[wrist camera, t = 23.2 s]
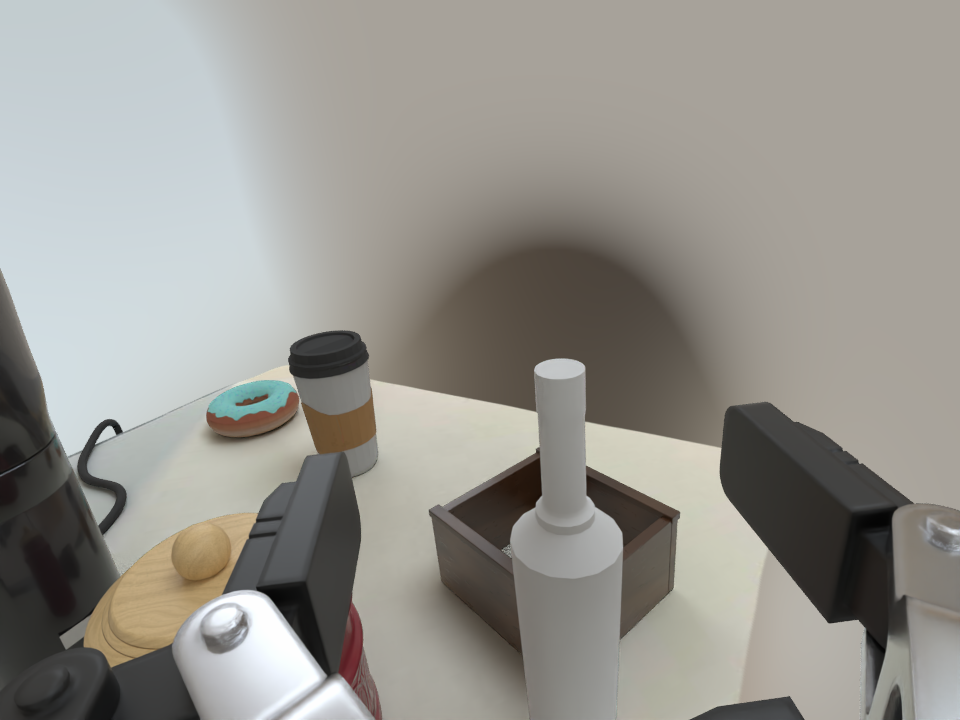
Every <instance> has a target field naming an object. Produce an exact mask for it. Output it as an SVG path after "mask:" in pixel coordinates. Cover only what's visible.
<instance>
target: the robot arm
mask: <svg viewBox="0 0 960 720" xmlns="http://www.w3.org/2000/svg"><path fill="white" fill-rule="evenodd" d="M107 426H112V427H113V429H114V431H115V433H116V435H118V434H120V433H123V431H122V429H121V427H120V425H119V424H118V423H117V422H116V421H115V420H112V419H107V420H104V421H103V422H101V423H100V424H99V425H98V426H97V427H96V428H95V430H94V431H93V433H92V435H91V436H90V438H89V440H88V442H87V444H86V445H85V447H84V449H83V451H82V453H81V455H80V457H79V460H78V465H77V469H78V473H79V476H80V477H81V479H82V480H83V481H84V482H86V483H88V484H90V485H94V486H98V487H103V488H107V489H110V490H112V491H114V492H115V493H116V495H117V500H116V502H115V505H114V506H113V508H112V510H111V511H110V513H109V514H108V515H107V516H106V518H105V519H104V520H103V521H102V522H101V523H100V524H99V525H97V522H96V520H95V518H94V516H93V513H92V511H91V509H90V507H89V504H88V502H87V500H86V498H85V495H84V493H83V491H82V488H81V486H80V484H79V482H78V479H77V477H76V475H75V473H74V470H73V468H72V467H71V464H70V462H69V460H68V458H67V456H66V453H65V451H64V449H63V446H62V444H61V442H60V440H59V437H58V435H57V433H56V431H55V428H54V426H53V423H52V421H51V419H50V417H49V414H48V410H47V404H46V399H45V394H44V388H43V383H42V380H41V377H40V374H39V372H38V369H37V366H36V364H35V361H34V359H33V356H32V353H31V351H30V348H29V346H28V343H27V340H26V337H25V335H24V332H23V329H22V326H21V323H20V321H19V318H18V315H17V312H16V309H15V306H14V303H13V300H12V297H11V295H10V292H9V289H8V287H7V284H6V282H5V279H4V277H3V274H2V272H1V270H0V720H375V718H374V717H373V716H372V714H371V713H370V712H369V710H368V709H367V708H366V706H365V705H364V704H363V702H362V701H361V700H360V699H359V697H358V696H357V695H356V693H355V692H354V691H353V689H352V688H351V687H350V685H349V684H348V683H347V682H346V680H345V679H344V678H343V677H342V676H341V675H340V674H339V673H338V671H339V666H340V660H341V654H342V648H343V642H344V636H345V631H346V625H347V619H348V613H349V607H350V601H351V595H352V590H353V584H354V578H355V572H356V566H357V560H358V554H359V549H360V542H361V524H360V515H359V510H358V505H357V500H356V496H355V491H354V486H353V482H352V477H351V472H350V468H349V463H348V459H347V456H346V454H345V452H335V453H327V454H318V455H310V456H307V457H306V458H305V460H304V463H303V465H302V468H301V471H300V473H299V476H298V478H297V481H296V482H289V483H282V484H281V485H280V486H279V487H278V488H277V489H276V490H275V491H274V492H272V493H271V494H270V495H269V496H268V497H267V498H266V499H265V500H264V502H263V504H262V506H261V509H260V511H259V513H258V515H257V518H256V523H254V524H253V526H252V529H251V531H250V533H249V539H247V540H246V542H245V544H244V546H243V549H242V551H241V553H240V555H239V558H238V560H237V562H236V564H235V566H234V569H233V571H232V573H231V575H230V577H229V580H228V582H227V584H226V586H225V589H224V591H223V593H222V595H221V596H219V597H217V598H215V599H213V600H211V601H209V602H207V603H206V604H204V605H202V606H201V607H200V608H198V609H197V610H196V611H194V612H193V613H192V614H191V615H190V616H189V617H188V618H187V619H186V620H185V622H184V623H183V624H182V625H181V627H180V628H179V630H178V631H177V633H176V635H175V638H174V640H173V643H172V644H170V645H168V646H165V647H163V648H161V649H158V650H155V651H153V652H150V653H148V654H145V655H142V656H140V657H137V658H134V659H132V660H129V661H127V662H124V663H121V664H119V665H116V666H113V667H110V665H109V663H108V661H107V659H106V657H105V655H104V654H103V653H102V652H101V651H99V650H97V649H94V648H88V647H84V635H85V631H86V627H87V624H88V622H89V619H90V617H91V615H92V613H93V611H94V609H95V608H96V606H97V604H98V603H99V601H100V600H101V598H102V597H103V596H104V594H105V593H106V592H107V591H108V590H109V588H110V587H111V586H112V585H113V584H114V583H115V582H116V581H117V580H118V579H119V578H120V574H119V572H118V570H117V567H116V565H115V563H114V561H113V558H112V556H111V554H110V552H109V549H108V547H107V545H106V543H105V540H104V538H103V536H102V535H103V534H104V533H105V532H106V531H107V529H108V528H109V527H110V526H111V525H112V524H113V522H114V521H115V520H116V519H117V517H118V516H119V514H120V513H121V511H122V509H123V507H124V505H125V502H126V495H127V494H126V490H125V489H124V488H123V486H122V485H120V484H118V483H116V482H112V481H108V480H103V479H99V478H96V477H93V476H91V475H90V474H89V473H88V471H87V467H86V464H87V459H88V457H89V455H90V453H91V451H92V449H93V447H94V445H95V443H96V441H97V439H98V438H99V436H100V434H101V433H102V431H103V430H104V429H105V428H106V427H107ZM720 479H721V484H722V487H723V490H724V492H725V494H726V496H727V498H728V499H729V500H730V502H731V503H732V504H733V505H734V507H735V508H736V509H737V510H738V511H739V513H740V514H741V515H742V516H743V518H744V519H745V520H746V521H747V523H748V524H749V525H750V526H751V528H752V529H753V530H754V531H755V533H756V534H757V535H758V536H759V538H760V539H761V540H762V541H763V543H764V544H765V545H766V546H767V547H768V549H769V550H770V551H771V552H772V554H773V555H774V556H775V557H776V559H777V560H778V561H779V562H780V564H781V565H782V566H783V567H784V569H785V570H786V571H787V572H788V573H789V575H790V576H791V577H792V578H793V580H794V581H795V582H796V583H797V585H798V586H799V587H800V588H801V590H802V591H803V592H804V593H805V595H806V596H807V597H808V598H809V600H810V601H811V602H812V603H813V605H814V606H815V607H816V608H817V610H818V611H819V612H820V613H821V614H822V616H823V617H824V618H825V619H826V621H827V622H828V623H837V622H844V621H851V620H859V621H860V622H861V623H862V625H863V626H864V627H865V629H864V632H863V637H862V642H861V678H860V720H960V511H959V510H956V509H953V508H949V507H945V506H940V505H935V504H919V503H917V504H914V503H913V502H911V501H910V500H909V499H908V498H906V497H905V496H904V495H902V494H901V493H900V492H899V491H897V490H896V489H895V488H893V487H892V486H891V485H889V484H888V483H887V482H886V481H884V480H883V479H882V478H880V477H879V476H878V475H877V474H875V473H874V472H873V471H871V470H870V469H868V467H866V466H865V465H864V464H859V463H858V460H857V459H856V458H854V457H853V456H852V455H850V454H849V453H848V452H847V451H843V450H842V448H841V447H840V446H839V445H838V444H836V443H835V442H834V441H833V440H831V439H830V438H829V437H827V436H826V435H825V434H823V433H821V432H819V431H817V430H815V429H812V428H810V427H808V426H806V425H803V424H801V423H799V422H793V421H792V420H791V419H790V418H788V417H787V416H786V415H785V414H783V413H782V412H781V411H780V410H778V409H777V408H776V407H774V406H773V405H772V404H771V403H768V402H761V403H753V404H745V405H736V406H730V407H729V408H728V409H727V411H726V413H725V419H724V428H723V441H722V449H721V460H720ZM690 720H804V718H803V717H802V715H801V714H800V712H799V710H798V709H797V707H796V706H795V704H794V702H793V701H792V699H791V698H790V696H789V697H782V698H775V699H769V700H761V701H754V702H747V703H740V704H733V705H726V706H719V707H716V708H714V709H712V710H709V711H707V712H705V713H703V714H701V715H699V716H697V717H694V718H692V719H690Z"/></svg>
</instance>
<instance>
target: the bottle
mask: <svg viewBox="0 0 960 720" xmlns="http://www.w3.org/2000/svg"><path fill="white" fill-rule="evenodd" d="M534 376H535V392H536V411H537V413H538V423H539V443H540V462H541V481H542V496H541V497H540V499H539V500H538V501H537V502H536V507H535V508H533V509H532V510H530V511H528V512H526V513H524V514H523V515H522V516H521V517H520V519H519V520H518V521H517V522H516V523H515V524H514V526H513V529H512V533H511V538H510V546H511V555H512V563H513V572H514V581H515V590H516V599H517V608H518V617H519V626H520V635H521V644H522V653H523V662H524V670H525V679H526V688H527V697H528V706H529V715H530V720H616V717H617V692H618V666H619V640H620V615H621V589H622V563H623V537H622V532H621V530H620V528H619V527H618V525H617V524H616V522H615V521H614V519H613V518H611V517H610V516H608V515H607V514H605V513H604V512H602V511H601V510H599V509H598V508H596V507H595V505H594V503H593V502H592V500H591V499H590V498H589V497H588V496H587V495H586V451H585V412H586V391H585V389H586V388H585V366H584V365H583V364H582V363H581V362H578V361H575V360H570V359H553V360H547V361H544V362H542V363H539V364H538V365H537V366H536V367H535V370H534Z"/></svg>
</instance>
